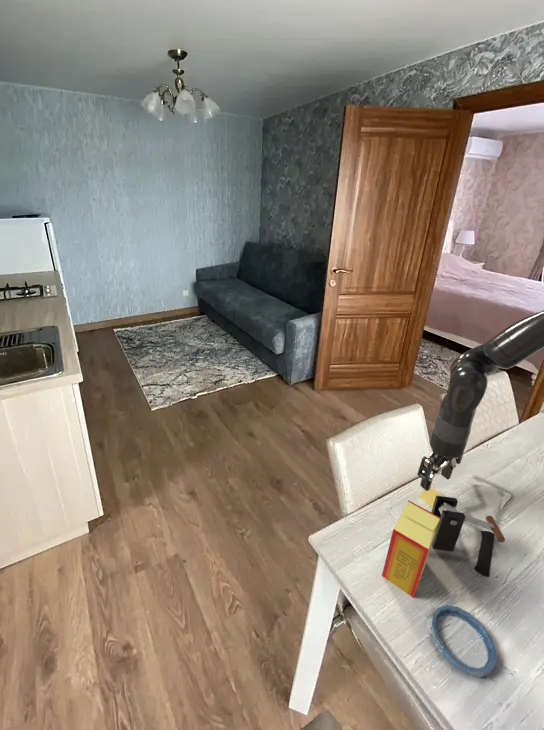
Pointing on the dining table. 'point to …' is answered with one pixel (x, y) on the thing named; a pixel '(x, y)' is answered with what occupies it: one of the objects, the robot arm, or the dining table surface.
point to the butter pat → (429, 496)
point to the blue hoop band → (480, 630)
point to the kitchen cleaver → (486, 540)
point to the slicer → (447, 525)
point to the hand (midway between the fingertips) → (435, 482)
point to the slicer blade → (477, 521)
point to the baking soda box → (410, 547)
